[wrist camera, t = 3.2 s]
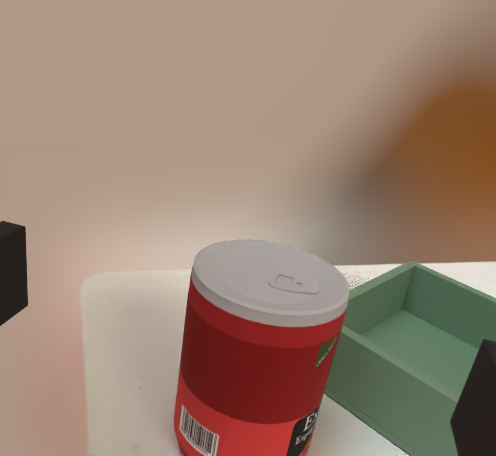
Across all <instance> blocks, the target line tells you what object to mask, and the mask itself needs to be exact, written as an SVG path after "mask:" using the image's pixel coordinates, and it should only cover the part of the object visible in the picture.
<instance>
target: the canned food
mask: <svg viewBox="0 0 496 456" xmlns="http://www.w3.org/2000/svg"><path fill="white" fill-rule="evenodd" d="M348 297H349V285H348V283H347V281H346V279H345V278H344V276H343V275H342V274H341V273H340V272H339V271H338V270H337V269H336V268H335V267H333V266H332V265H331V264H329V263H327V262H326V261H324V260H323V259H321V258H319V257H317V256H315V255H313V254H311V253H308V252H306V251H303V250H301V249H298V248H294V247H291V246H288V245H284V244H279V243H275V242H268V241H260V240H232V241H224V242H220V243H216V244H213V245H210V246H208V247H206V248H204V249H203V250H201V251H200V252H199V253H198V254H197V256H196V257H195V259H194V264H193V267H192V272H191V278H190V286H189V292H188V299H187V308H186V317H185V326H184V334H183V343H182V352H181V361H180V370H179V378H178V387H177V396H176V405H175V414H174V427H175V433H176V436H177V440H178V443H179V446H180V448H181V451H182V452H183V454H184V456H306V453H307V450H308V448H309V444H310V441H311V437H312V434H313V430H314V426H315V423H316V419H317V416H318V412H319V408H320V405H321V401H322V398H323V394H324V391H325V387H326V383H327V380H328V376H329V373H330V369H331V365H332V362H333V358H334V355H335V351H336V347H337V344H338V340H339V337H340V333H341V330H342V326H343V322H344V317H345V313H346V310H347V306H348Z"/></svg>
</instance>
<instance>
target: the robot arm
mask: <svg viewBox="0 0 496 456" xmlns="http://www.w3.org/2000/svg"><path fill="white" fill-rule="evenodd" d="M26 262H27V261H26V232H25V226H21V225H17V224H13V223H9V222H5V221H2V222H0V326H1V325H2V324H4V323H5V322H6V321H8V320H9V319H10V318H12V317H13V316H14V315H16V314H17V313H18V312H20V311H21V310H22V309H24V308H25V307H26V306H28V295H27V293H28V292H27V263H26ZM450 424H451V428H452V432H453V436H454V441H455V445H456V449H457V453H458V456H496V342H494V341H490V340H486V339H483V341H482V343H481V346H480V348H479V351H478V353H477V356H476V358H475V361H474V363H473V365H472V368H471V370H470V373H469V375H468V378H467V380H466V383H465V385H464V388H463V390H462V393H461V395H460V398H459V400H458V403H457V405H456V407H455V410H454V412H453V415H452V417H451V420H450Z"/></svg>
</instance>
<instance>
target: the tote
mask: <svg viewBox="0 0 496 456" xmlns="http://www.w3.org/2000/svg"><path fill="white" fill-rule="evenodd" d="M483 339H486V340H490V341H494V342H496V298H494V297H492V296H490V295H487V294H485V293H483V292H481V291H478V290H476V289H474V288H472V287H469V286H467V285H465V284H463V283H461V282H458V281H456V280H454V279H452V278H449V277H447V276H445V275H443V274H440V273H438V272H436V271H434V270H431V269H429V268H427V267H425V266H423V265H420V264H418V263H416V262H413V261H409V262H407V263H405V264H403V265H401V266H399V267H397V268H395V269H393V270H391V271H389V272H387V273H385V274H383V275H380V276H378V277H376V278H374V279H372V280H370V281H368V282H366V283H364V284H362V285H360V286H358V287H356V288H354V289H352V290H350V291H349V297H348V306H347V310H346V313H345V317H344V322H343V326H342V330H341V333H340V337H339V340H338V344H337V347H336V351H335V355H334V358H333V362H332V365H331V369H330V373H329V376H328V380H327V383H326V387H325V391H324V393H325V394H326V395H328V396H329V397H331V398H332V399H333V400H335V401H336V402H337V403H339V404H340V405H342V406H343V407H344V408H346V409H347V410H348V411H350V412H351V413H353V414H354V415H355V416H357V417H358V418H359V419H361V420H362V421H364V422H365V423H366V424H368V425H369V426H370V427H372V428H373V429H375V430H376V431H377V432H379V433H380V434H381V435H383V436H384V437H386V438H387V439H388V440H390V441H391V442H392V443H394V444H395V445H397V446H398V447H399V448H401V449H402V450H404V451H405V452H406V453H408V454H409V455H410V456H458V453H457V449H456V445H455V441H454V436H453V432H452V428H451V424H450V420H451V417H452V415H453V412H454V410H455V407H456V405H457V403H458V400H459V398H460V395H461V393H462V390H463V388H464V385H465V383H466V380H467V378H468V375H469V373H470V370H471V368H472V365H473V363H474V361H475V358H476V356H477V353H478V351H479V348H480V346H481V343H482V341H483Z"/></svg>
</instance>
